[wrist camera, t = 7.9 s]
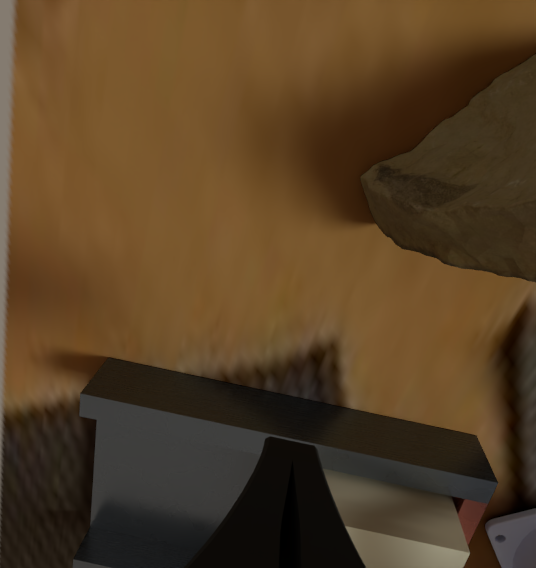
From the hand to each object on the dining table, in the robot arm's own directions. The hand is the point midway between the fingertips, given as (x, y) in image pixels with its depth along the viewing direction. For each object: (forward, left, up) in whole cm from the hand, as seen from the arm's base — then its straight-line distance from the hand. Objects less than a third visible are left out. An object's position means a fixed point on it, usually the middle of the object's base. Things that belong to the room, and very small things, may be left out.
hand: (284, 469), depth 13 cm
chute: (-8, +5, -9) cm, 14 cm away
